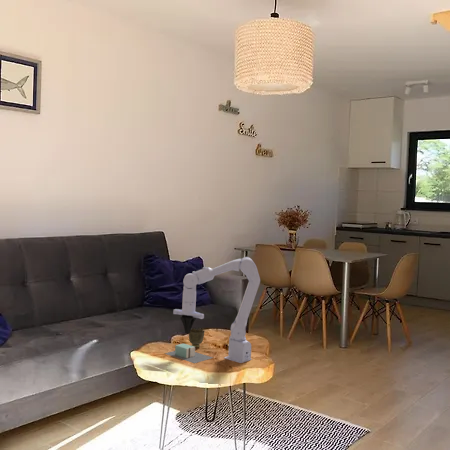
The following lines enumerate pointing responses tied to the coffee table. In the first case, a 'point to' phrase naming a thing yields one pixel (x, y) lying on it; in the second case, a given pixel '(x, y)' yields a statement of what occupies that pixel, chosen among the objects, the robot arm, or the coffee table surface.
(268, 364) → the coffee table surface
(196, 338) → the cup
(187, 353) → the block
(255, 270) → the robot arm
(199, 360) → the mat
